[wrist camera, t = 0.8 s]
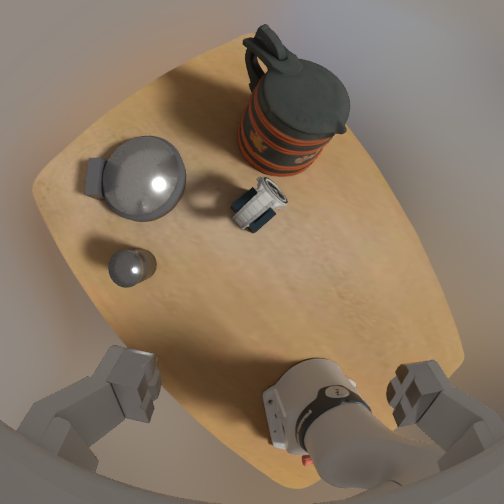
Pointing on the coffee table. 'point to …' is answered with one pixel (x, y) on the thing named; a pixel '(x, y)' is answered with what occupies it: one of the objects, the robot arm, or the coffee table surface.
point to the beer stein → (288, 108)
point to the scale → (96, 191)
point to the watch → (258, 205)
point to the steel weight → (131, 267)
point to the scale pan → (140, 176)
